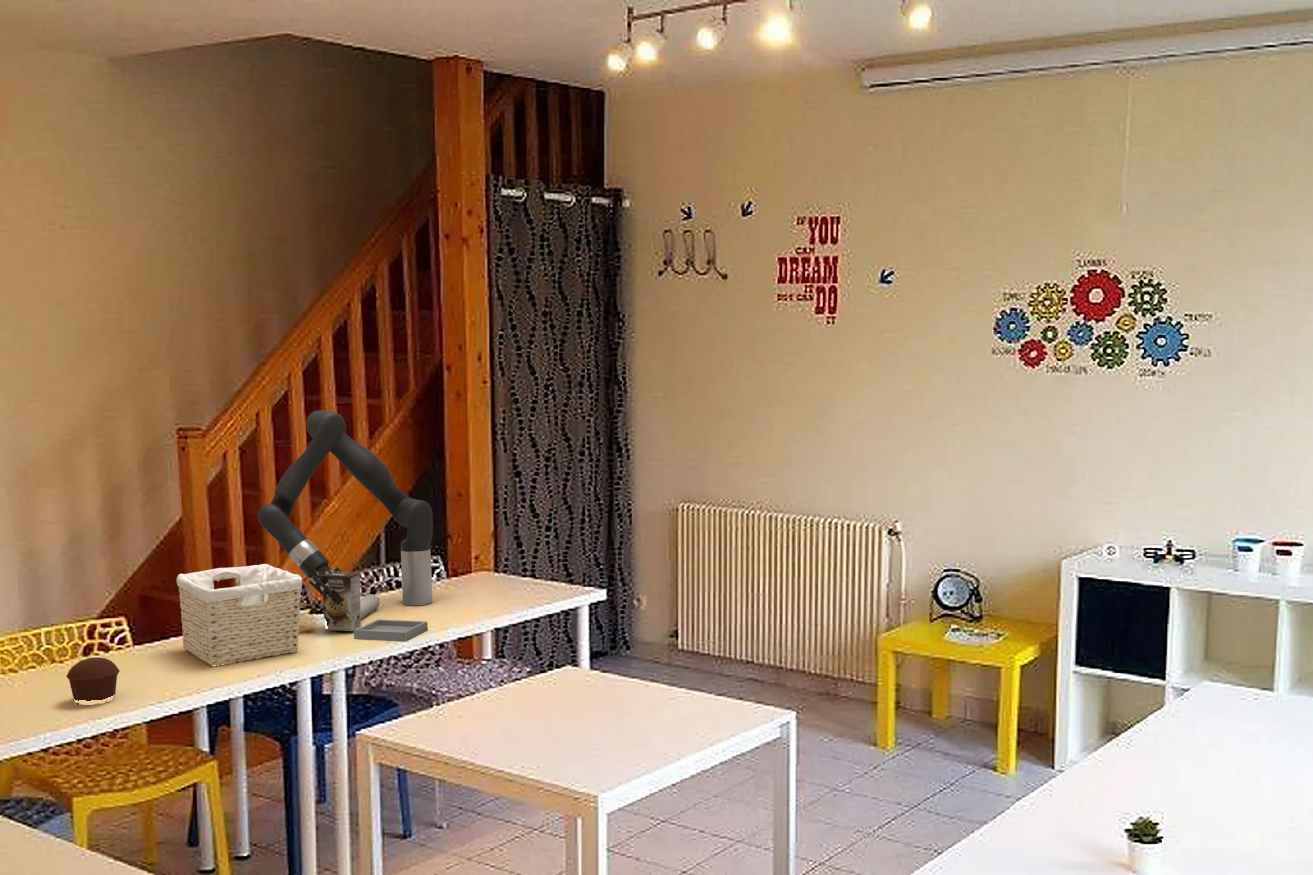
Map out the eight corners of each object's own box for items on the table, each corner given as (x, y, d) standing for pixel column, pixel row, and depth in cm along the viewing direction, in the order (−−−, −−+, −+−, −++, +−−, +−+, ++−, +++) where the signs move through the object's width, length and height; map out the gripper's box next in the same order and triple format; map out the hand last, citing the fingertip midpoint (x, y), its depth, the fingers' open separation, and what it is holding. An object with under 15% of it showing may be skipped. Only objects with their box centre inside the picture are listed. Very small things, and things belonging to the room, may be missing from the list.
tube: (354, 615, 384) (381, 597, 409) (337, 609, 385) (365, 591, 410) (349, 632, 385) (377, 613, 410) (332, 626, 385) (361, 607, 410)
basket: (308, 653, 356) (305, 574, 354) (209, 670, 340) (205, 587, 338) (271, 635, 378) (268, 561, 376) (177, 651, 361) (173, 573, 360)
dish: (377, 627, 384) (377, 619, 384) (427, 630, 380) (427, 621, 380) (354, 638, 371) (353, 630, 371) (405, 641, 367) (405, 632, 366)
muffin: (109, 691, 322) (107, 650, 321) (129, 699, 314) (127, 658, 313) (59, 701, 313) (57, 660, 312) (79, 710, 305) (76, 668, 304)
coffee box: (323, 630, 379) (320, 575, 377) (333, 624, 385) (331, 570, 384) (352, 631, 377) (349, 576, 375) (362, 626, 383) (360, 571, 382)
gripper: (303, 554, 374) (342, 596, 372) (329, 545, 388) (366, 586, 386) (287, 571, 376) (326, 614, 374) (314, 562, 390) (351, 603, 388)
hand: (346, 599), depth 380 cm, fingers closed on coffee box, 6 cm apart
